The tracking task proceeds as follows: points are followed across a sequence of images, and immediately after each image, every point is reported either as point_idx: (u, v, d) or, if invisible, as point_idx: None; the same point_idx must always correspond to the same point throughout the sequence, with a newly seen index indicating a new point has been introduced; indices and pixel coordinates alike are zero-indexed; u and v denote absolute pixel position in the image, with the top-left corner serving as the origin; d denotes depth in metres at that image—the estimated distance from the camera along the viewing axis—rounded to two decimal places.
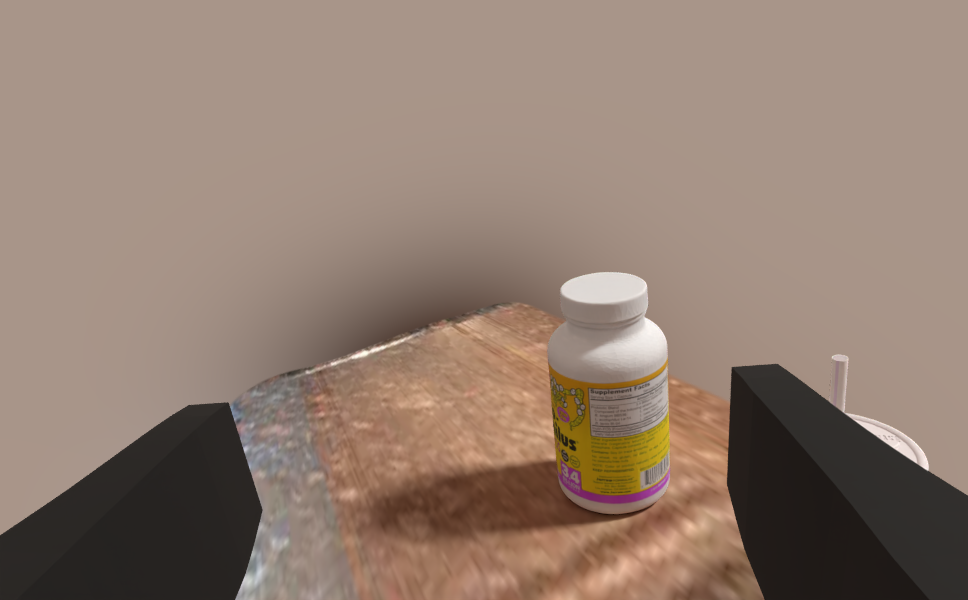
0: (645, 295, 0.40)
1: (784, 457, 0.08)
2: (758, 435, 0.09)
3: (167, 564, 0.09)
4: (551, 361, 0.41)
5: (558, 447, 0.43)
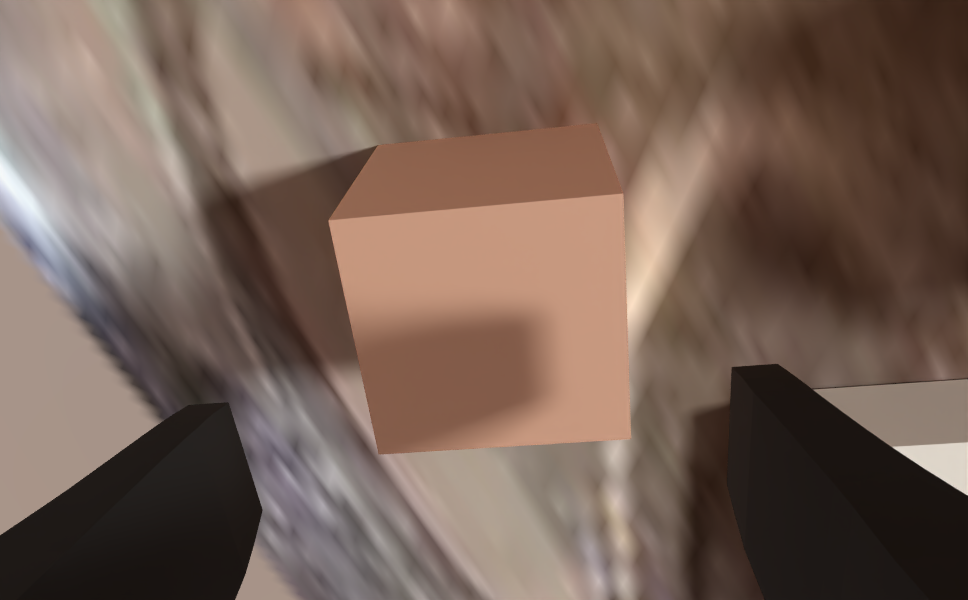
0: None
1: (784, 457, 0.08)
2: (758, 435, 0.09)
3: (166, 563, 0.09)
4: None
5: None
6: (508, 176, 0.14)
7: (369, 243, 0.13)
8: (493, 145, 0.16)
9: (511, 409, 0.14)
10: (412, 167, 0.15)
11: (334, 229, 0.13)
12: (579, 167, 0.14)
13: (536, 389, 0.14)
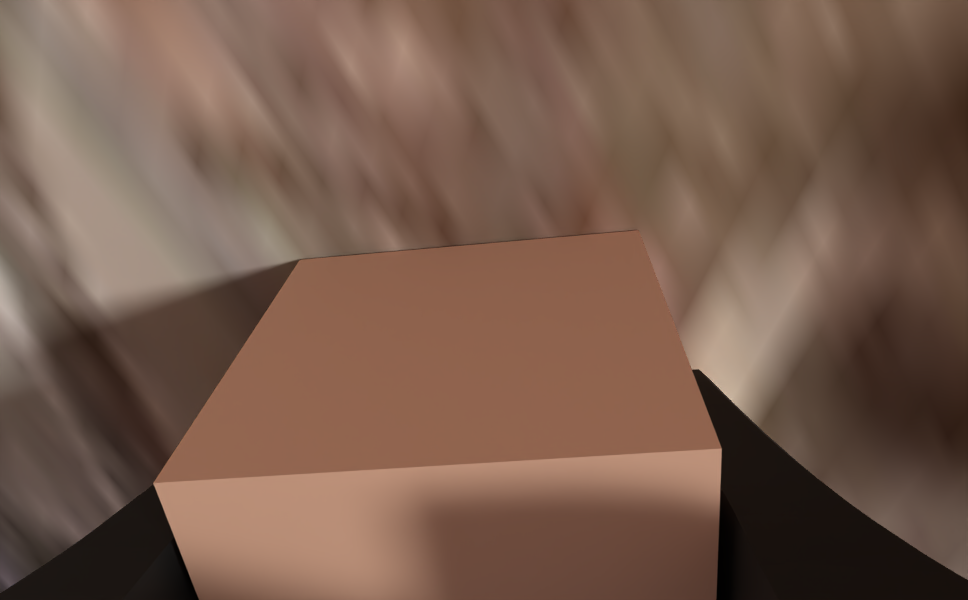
0: None
1: None
2: None
3: None
4: None
5: None
6: (498, 368, 0.08)
7: (233, 520, 0.07)
8: (475, 276, 0.10)
9: None
10: (339, 324, 0.09)
11: (166, 497, 0.07)
12: (624, 350, 0.08)
13: None
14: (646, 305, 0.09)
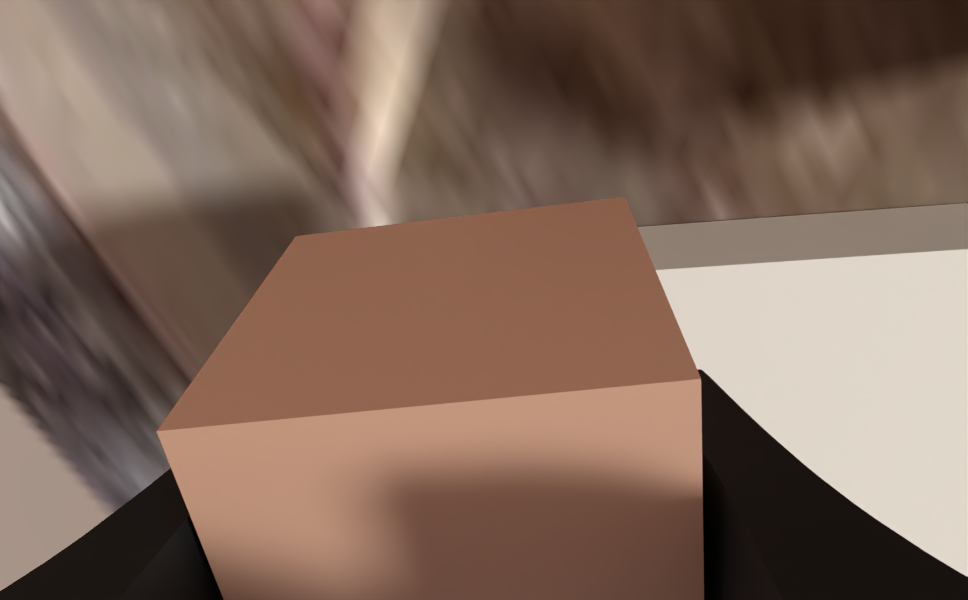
0: None
1: None
2: None
3: None
4: None
5: None
6: (486, 320, 0.08)
7: (235, 466, 0.07)
8: (466, 243, 0.10)
9: None
10: (333, 289, 0.09)
11: (169, 445, 0.07)
12: (609, 300, 0.08)
13: None
14: (630, 260, 0.09)
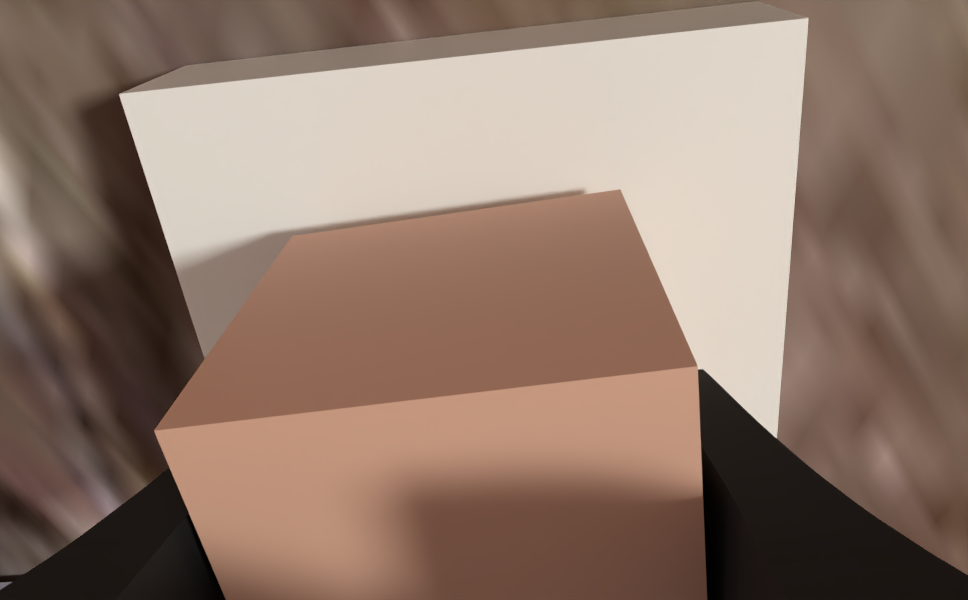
0: None
1: None
2: None
3: None
4: None
5: None
6: (483, 312, 0.08)
7: (234, 465, 0.07)
8: (462, 238, 0.10)
9: None
10: (331, 287, 0.09)
11: (167, 444, 0.07)
12: (605, 290, 0.08)
13: None
14: (627, 252, 0.09)
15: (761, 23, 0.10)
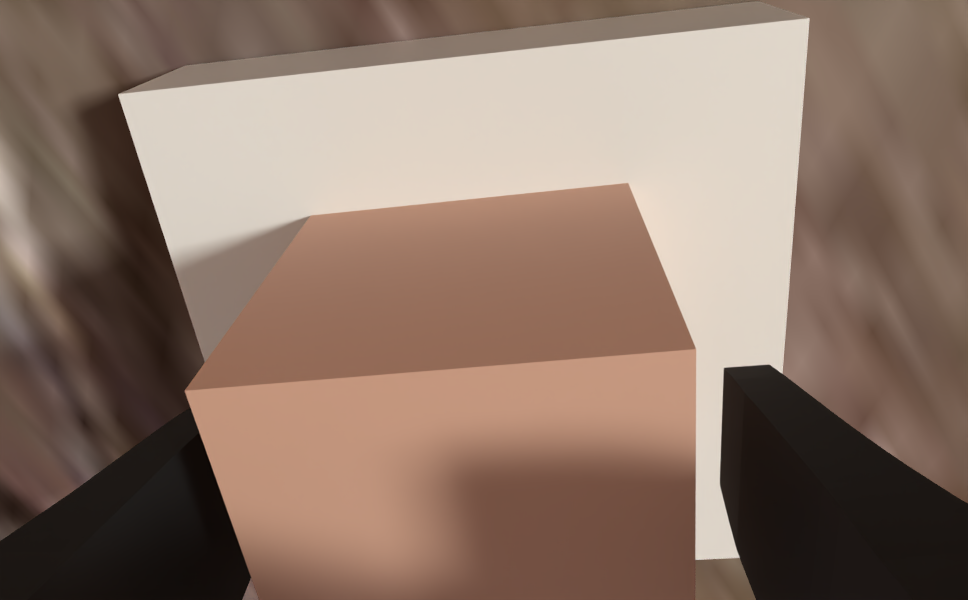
0: None
1: (774, 457, 0.08)
2: (749, 435, 0.09)
3: (175, 563, 0.09)
4: None
5: None
6: (495, 294, 0.09)
7: (257, 425, 0.08)
8: (475, 224, 0.11)
9: None
10: (348, 265, 0.10)
11: (196, 404, 0.08)
12: (610, 277, 0.09)
13: None
14: (632, 242, 0.09)
15: (762, 23, 0.10)
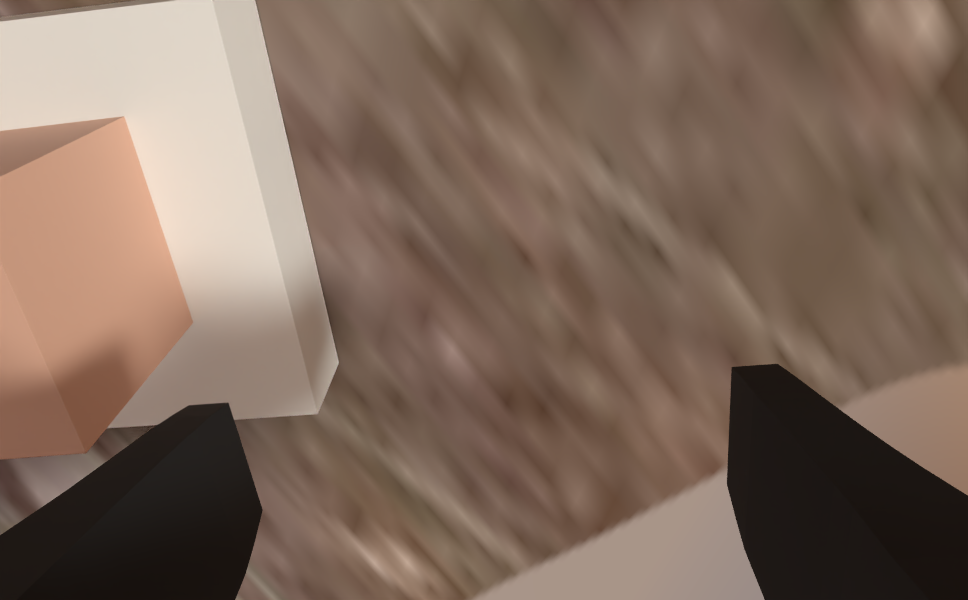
0: None
1: (784, 457, 0.08)
2: (758, 435, 0.09)
3: (166, 563, 0.09)
4: None
5: None
6: None
7: None
8: None
9: None
10: None
11: None
12: (2, 163, 0.13)
13: None
14: (52, 146, 0.14)
15: None
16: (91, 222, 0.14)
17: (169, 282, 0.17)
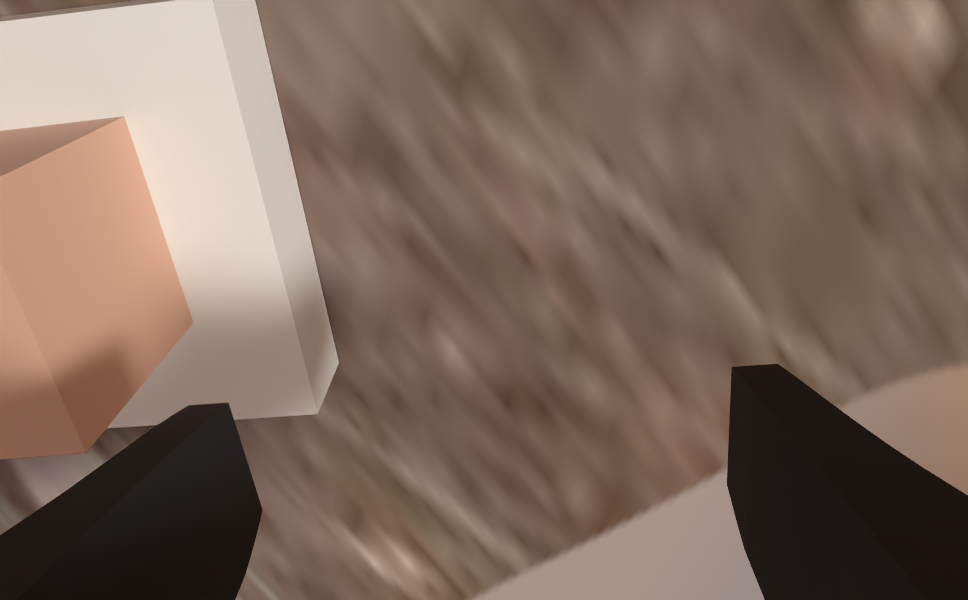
0: None
1: (784, 457, 0.08)
2: (758, 435, 0.09)
3: (166, 563, 0.09)
4: None
5: None
6: None
7: None
8: None
9: None
10: None
11: None
12: (2, 163, 0.13)
13: None
14: (52, 146, 0.14)
15: None
16: (91, 222, 0.14)
17: (169, 282, 0.17)
